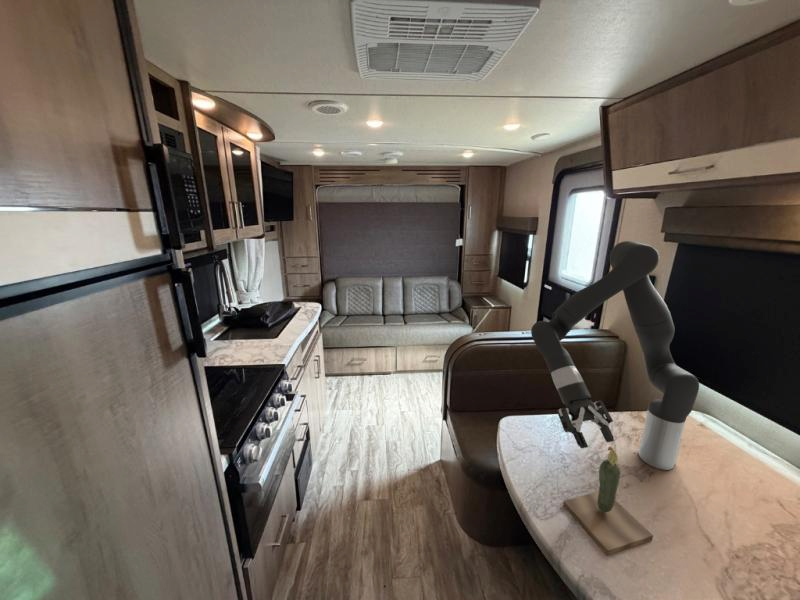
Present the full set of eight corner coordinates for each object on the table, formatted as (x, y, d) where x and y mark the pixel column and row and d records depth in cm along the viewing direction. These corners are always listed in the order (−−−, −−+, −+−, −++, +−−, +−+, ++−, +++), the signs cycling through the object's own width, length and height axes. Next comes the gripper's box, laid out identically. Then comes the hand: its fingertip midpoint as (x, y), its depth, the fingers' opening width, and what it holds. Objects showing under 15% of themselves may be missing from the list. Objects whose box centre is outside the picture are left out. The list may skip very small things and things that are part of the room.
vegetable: (614, 521, 81) (627, 457, 75) (596, 518, 82) (608, 455, 76) (607, 506, 85) (619, 444, 80) (589, 503, 86) (600, 442, 80)
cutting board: (603, 493, 91) (604, 489, 90) (652, 539, 78) (653, 535, 77) (563, 505, 87) (563, 500, 87) (606, 555, 74) (607, 550, 74)
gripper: (557, 384, 86) (585, 448, 78) (598, 377, 89) (629, 437, 81) (541, 391, 92) (566, 451, 84) (581, 384, 96) (608, 441, 88)
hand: (597, 444), depth 83 cm, fingers open, 8 cm apart
